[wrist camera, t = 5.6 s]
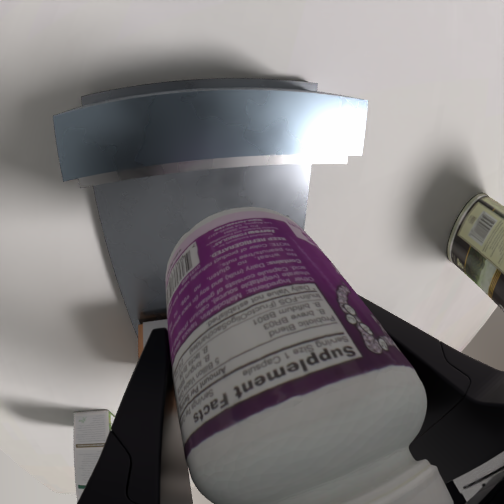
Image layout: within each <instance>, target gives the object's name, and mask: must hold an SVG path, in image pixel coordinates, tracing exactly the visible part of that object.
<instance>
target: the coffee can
mask: <svg viewBox="0 0 504 504" xmlns="http://www.w3.org/2000/svg"><path fill="white" fill-rule="evenodd" d="M447 254H448V258H449V260H450V261H451V262H452V263H454V264H455V265H456V266H457V267H458V268H459V269H461V270H462V271H463V272H464V273H465V274H466V275H467V276H468V277H469V278H471V279H472V280H473V281H474V282H475V283H476V284H477V285H478V286H479V287H480V288H481V289H482V290H483V291H484V292H485V293H486V294H487V295H488V296H489V297H490V298H491V299H492V300H493V301H494V302H495V303H496V304H497V305H498V306H499V307H500V308H501V309H502V310H503V311H504V206H502V205H501V204H499V203H498V202H496V201H495V200H493V199H492V198H490V197H489V196H488V195H487V194H485V193H483V194H478V195H476V196H475V197H474V198H472V199H471V200H470V201H469V202H468V204H467V205H466V206H465V208H464V209H463V210H462V212H461V213H460V215H459V217H458V219H457V221H456V223H455V225H454V227H453V229H452V233H451V235H450V238H449V242H448V249H447Z"/></svg>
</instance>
